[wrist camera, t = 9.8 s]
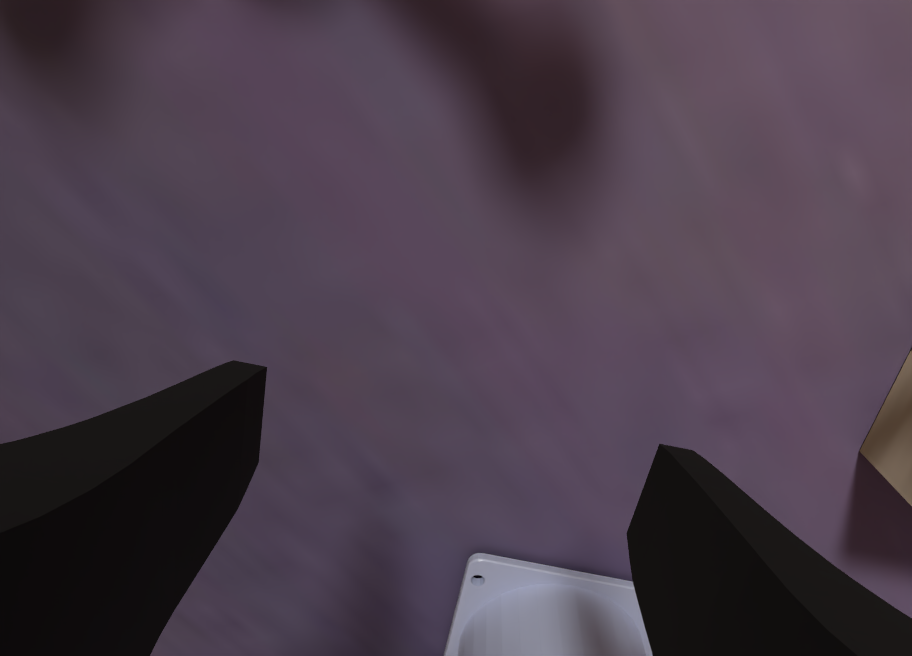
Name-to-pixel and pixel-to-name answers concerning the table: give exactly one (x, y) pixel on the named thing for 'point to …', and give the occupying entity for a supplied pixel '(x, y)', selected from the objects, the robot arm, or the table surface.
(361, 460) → the table surface
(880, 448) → the wooden block
